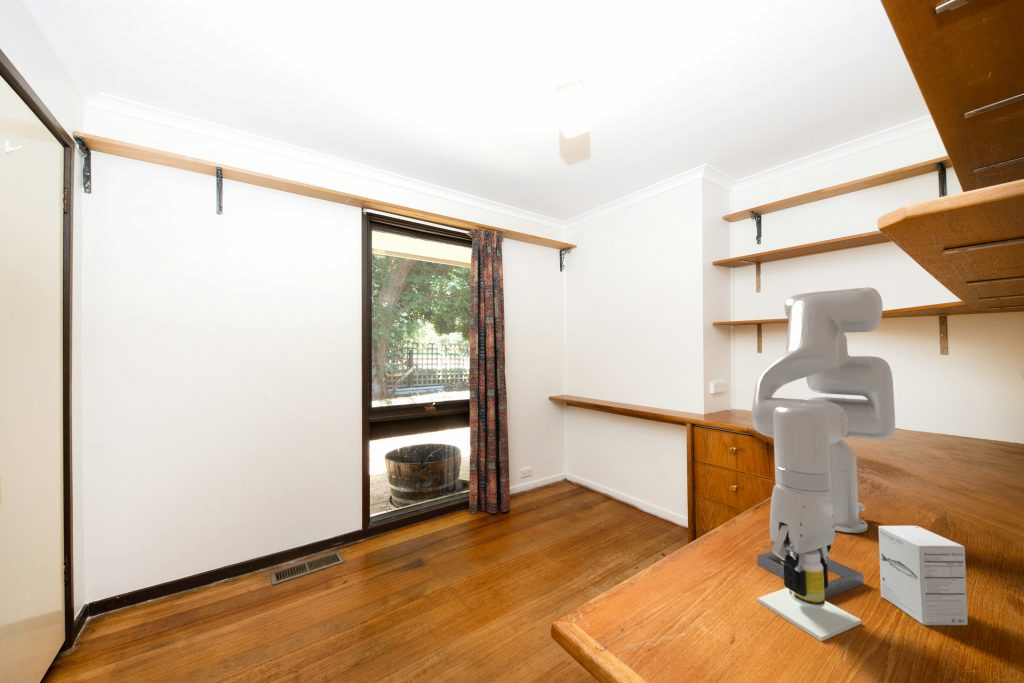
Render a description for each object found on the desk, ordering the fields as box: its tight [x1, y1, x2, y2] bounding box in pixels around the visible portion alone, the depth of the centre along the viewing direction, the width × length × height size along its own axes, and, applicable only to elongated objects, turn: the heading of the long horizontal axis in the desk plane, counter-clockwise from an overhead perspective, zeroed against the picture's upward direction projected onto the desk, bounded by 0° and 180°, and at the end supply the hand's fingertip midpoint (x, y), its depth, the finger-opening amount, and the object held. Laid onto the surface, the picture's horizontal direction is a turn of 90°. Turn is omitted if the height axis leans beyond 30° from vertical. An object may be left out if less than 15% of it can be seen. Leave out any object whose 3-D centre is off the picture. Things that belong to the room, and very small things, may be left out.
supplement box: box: [878, 525, 969, 626], centre depth 64 cm, size 7×7×13 cm
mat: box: [757, 587, 862, 642], centre depth 64 cm, size 10×10×1 cm
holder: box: [756, 551, 865, 600], centre depth 75 cm, size 12×12×2 cm
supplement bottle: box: [789, 543, 826, 608], centre depth 64 cm, size 5×5×8 cm
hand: (806, 586), depth 64 cm, fingers closed on supplement bottle, 4 cm apart
